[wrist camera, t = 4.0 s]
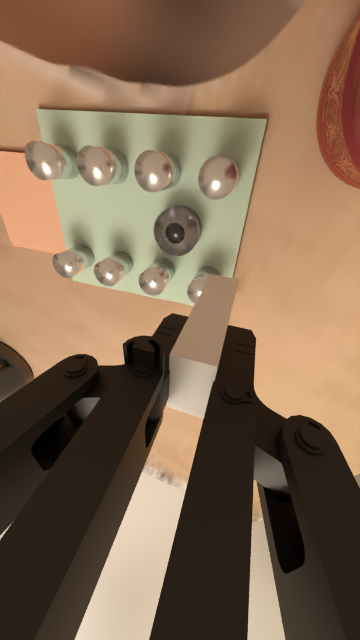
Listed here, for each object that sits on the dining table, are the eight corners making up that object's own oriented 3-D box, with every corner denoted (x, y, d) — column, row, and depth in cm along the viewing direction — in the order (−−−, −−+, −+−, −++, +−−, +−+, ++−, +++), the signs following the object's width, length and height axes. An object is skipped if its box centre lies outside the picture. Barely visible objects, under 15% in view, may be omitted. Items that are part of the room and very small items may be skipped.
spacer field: (75, 279, 36) (72, 280, 36) (39, 110, 25) (35, 108, 24) (225, 310, 31) (224, 312, 31) (266, 120, 20) (267, 118, 20)
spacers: (77, 264, 34) (55, 275, 30) (53, 144, 26) (20, 140, 22) (218, 291, 30) (212, 308, 26) (243, 158, 22) (239, 156, 18)
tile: (15, 244, 36) (12, 245, 35) (-18, 149, 29) (-22, 149, 28) (70, 254, 34) (67, 255, 33) (49, 155, 27) (45, 155, 26)
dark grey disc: (160, 247, 29) (153, 252, 27) (161, 202, 26) (153, 205, 24) (199, 253, 28) (194, 259, 26) (204, 208, 25) (199, 211, 23)
